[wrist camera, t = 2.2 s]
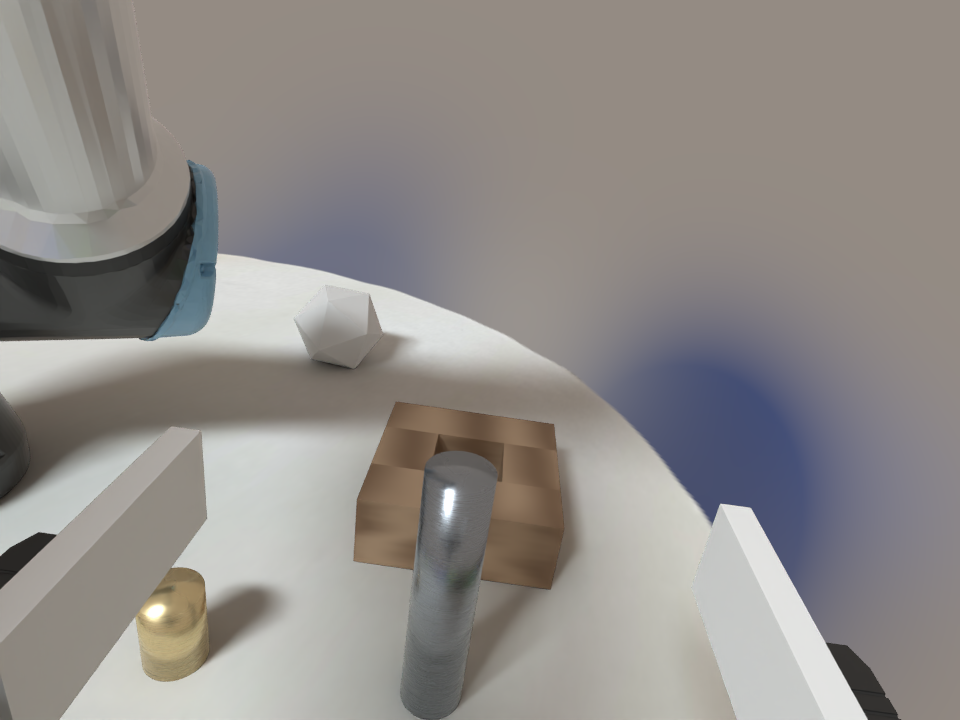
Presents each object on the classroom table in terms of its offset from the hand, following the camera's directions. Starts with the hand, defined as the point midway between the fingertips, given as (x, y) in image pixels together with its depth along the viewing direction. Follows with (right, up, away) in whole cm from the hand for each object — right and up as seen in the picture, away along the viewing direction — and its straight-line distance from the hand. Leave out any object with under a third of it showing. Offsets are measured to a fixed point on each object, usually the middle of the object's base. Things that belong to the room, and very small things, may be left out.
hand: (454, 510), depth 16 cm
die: (-15, +4, +52) cm, 54 cm away
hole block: (-1, -8, +30) cm, 31 cm away
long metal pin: (-2, -14, +17) cm, 22 cm away
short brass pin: (-15, -12, +17) cm, 26 cm away
